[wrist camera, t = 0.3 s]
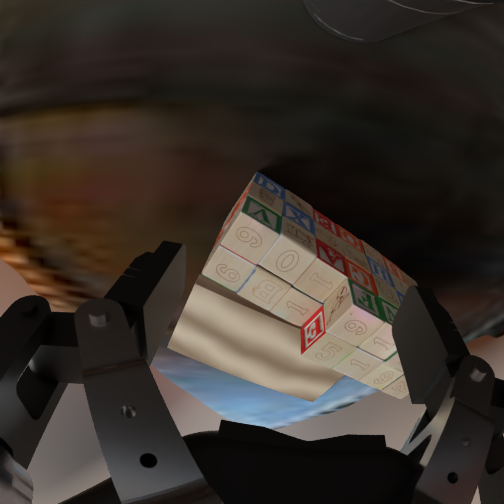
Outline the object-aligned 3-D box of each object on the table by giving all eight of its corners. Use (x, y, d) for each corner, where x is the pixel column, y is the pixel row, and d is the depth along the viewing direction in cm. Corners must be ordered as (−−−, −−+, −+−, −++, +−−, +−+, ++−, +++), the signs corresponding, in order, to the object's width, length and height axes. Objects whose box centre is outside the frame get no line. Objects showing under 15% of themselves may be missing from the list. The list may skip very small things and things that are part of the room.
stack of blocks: (223, 220, 31) (187, 298, 21) (257, 169, 28) (233, 228, 18) (380, 316, 35) (401, 402, 25) (417, 281, 32) (453, 364, 22)
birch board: (200, 273, 35) (195, 283, 33) (363, 343, 38) (365, 355, 36) (171, 336, 41) (167, 347, 39) (312, 391, 44) (312, 402, 42)
